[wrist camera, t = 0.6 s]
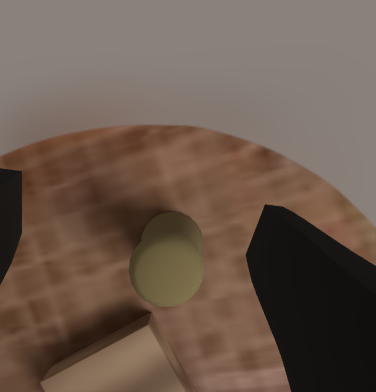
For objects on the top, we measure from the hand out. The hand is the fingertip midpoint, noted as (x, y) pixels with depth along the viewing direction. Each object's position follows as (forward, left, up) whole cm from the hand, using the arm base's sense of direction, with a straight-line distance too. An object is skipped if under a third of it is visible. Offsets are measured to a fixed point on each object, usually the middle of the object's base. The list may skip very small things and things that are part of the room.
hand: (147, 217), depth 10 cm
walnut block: (-15, +13, -22) cm, 30 cm away
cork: (-4, +3, -23) cm, 23 cm away
